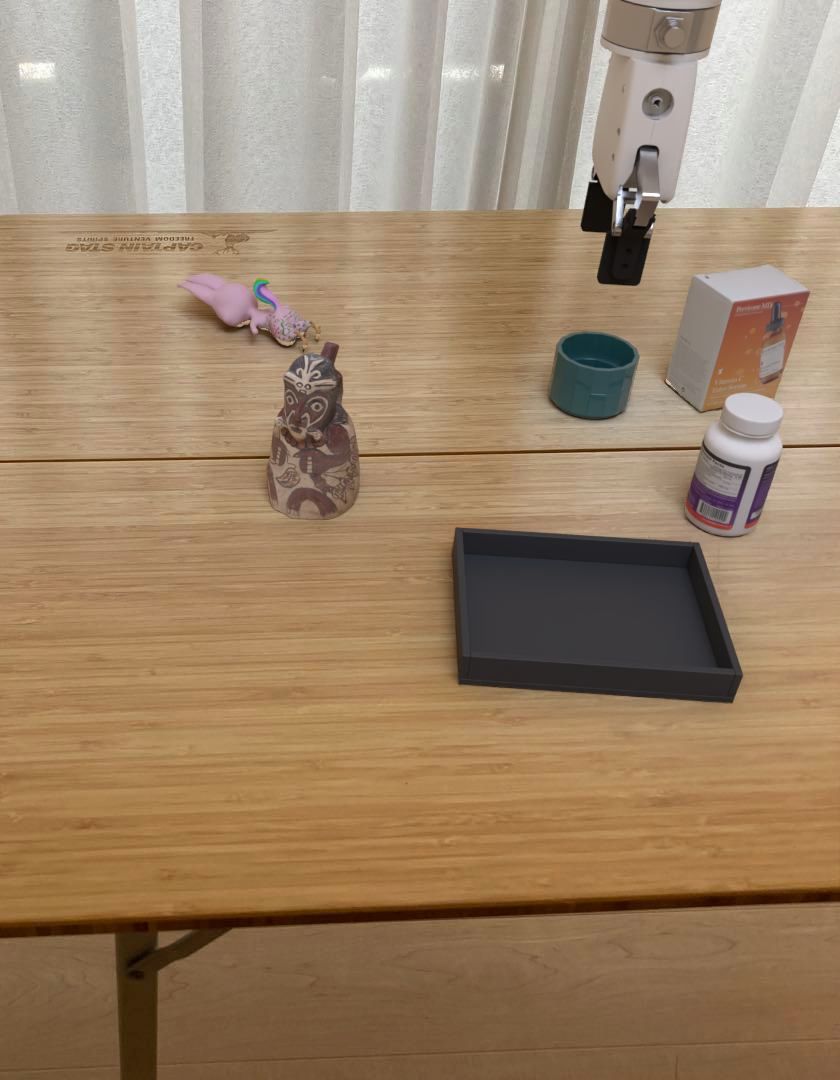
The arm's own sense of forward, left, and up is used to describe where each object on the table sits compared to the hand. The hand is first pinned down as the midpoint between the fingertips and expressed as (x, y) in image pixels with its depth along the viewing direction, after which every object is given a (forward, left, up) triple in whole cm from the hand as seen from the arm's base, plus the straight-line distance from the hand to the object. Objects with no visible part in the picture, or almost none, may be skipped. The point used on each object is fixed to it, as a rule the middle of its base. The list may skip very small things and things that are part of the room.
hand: (608, 256), depth 88 cm
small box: (-13, -3, -14) cm, 19 cm away
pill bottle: (-9, +15, -14) cm, 22 cm away
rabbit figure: (+30, -10, -14) cm, 35 cm away
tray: (+3, +29, -14) cm, 32 cm away
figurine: (+22, +16, -14) cm, 30 cm away
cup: (-1, 0, -14) cm, 14 cm away
